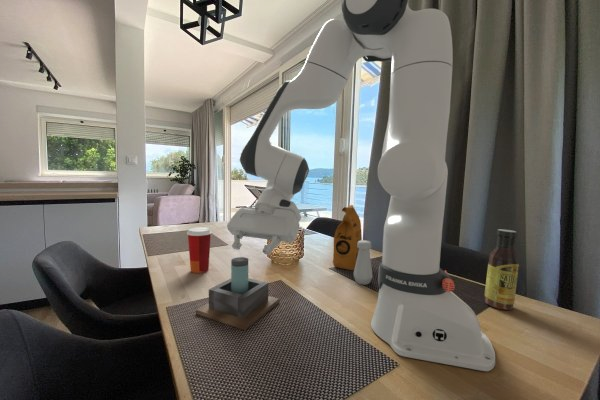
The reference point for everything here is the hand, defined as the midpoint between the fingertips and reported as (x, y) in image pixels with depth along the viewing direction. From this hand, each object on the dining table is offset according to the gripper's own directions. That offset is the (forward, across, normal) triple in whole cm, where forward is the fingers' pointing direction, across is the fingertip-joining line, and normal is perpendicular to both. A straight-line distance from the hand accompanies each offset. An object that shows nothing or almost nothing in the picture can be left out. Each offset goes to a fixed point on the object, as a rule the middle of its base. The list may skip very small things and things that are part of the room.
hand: (250, 250), depth 67 cm
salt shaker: (-10, +23, +29) cm, 38 cm away
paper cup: (+2, -28, +17) cm, 33 cm away
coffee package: (-20, +14, +39) cm, 46 cm away
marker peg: (+11, 0, +6) cm, 13 cm away
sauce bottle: (-11, +58, +30) cm, 66 cm away
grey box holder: (+12, 0, +7) cm, 14 cm away
